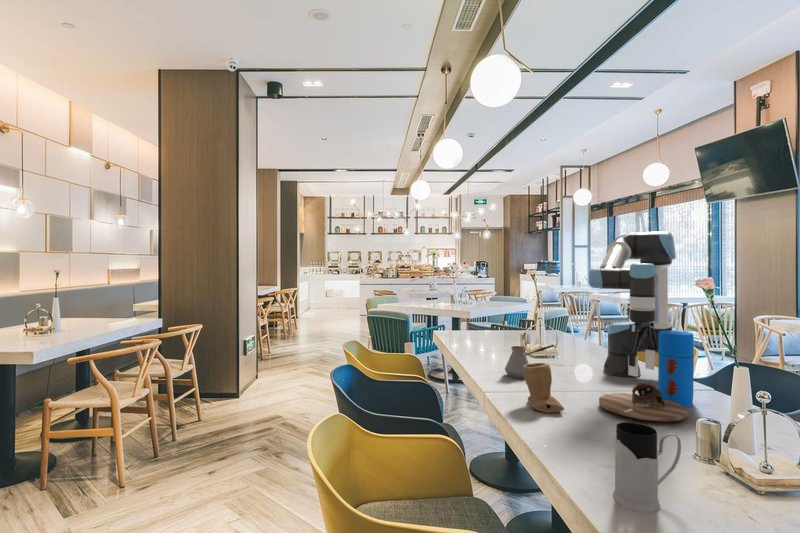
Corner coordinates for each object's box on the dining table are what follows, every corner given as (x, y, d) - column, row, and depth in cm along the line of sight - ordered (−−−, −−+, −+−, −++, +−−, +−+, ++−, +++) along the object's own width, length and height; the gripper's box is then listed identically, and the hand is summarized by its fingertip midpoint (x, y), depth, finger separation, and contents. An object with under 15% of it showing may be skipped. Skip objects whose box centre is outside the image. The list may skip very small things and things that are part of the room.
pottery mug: (673, 411, 140) (665, 391, 138) (645, 422, 141) (636, 402, 139) (653, 391, 151) (645, 372, 149) (627, 402, 152) (619, 383, 151)
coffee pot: (503, 378, 188) (503, 343, 188) (506, 372, 199) (506, 339, 199) (555, 382, 182) (555, 347, 182) (555, 376, 192) (555, 342, 192)
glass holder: (604, 490, 94) (604, 421, 94) (665, 487, 96) (665, 419, 95) (629, 513, 85) (629, 437, 85) (695, 510, 87) (696, 435, 87)
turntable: (619, 391, 164) (619, 388, 164) (699, 409, 144) (699, 406, 144) (584, 405, 147) (584, 402, 147) (670, 427, 127) (670, 424, 127)
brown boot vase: (519, 399, 158) (520, 358, 158) (553, 401, 157) (553, 359, 157) (527, 413, 143) (528, 368, 143) (564, 415, 142) (565, 369, 142)
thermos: (654, 401, 157) (655, 332, 157) (661, 395, 165) (662, 329, 165) (690, 408, 150) (690, 336, 149) (695, 401, 157) (696, 332, 157)
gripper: (645, 305, 156) (645, 364, 157) (613, 311, 140) (613, 376, 141) (668, 307, 150) (668, 368, 151) (638, 313, 135) (638, 381, 135)
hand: (641, 372), depth 146 cm, fingers open, 13 cm apart
